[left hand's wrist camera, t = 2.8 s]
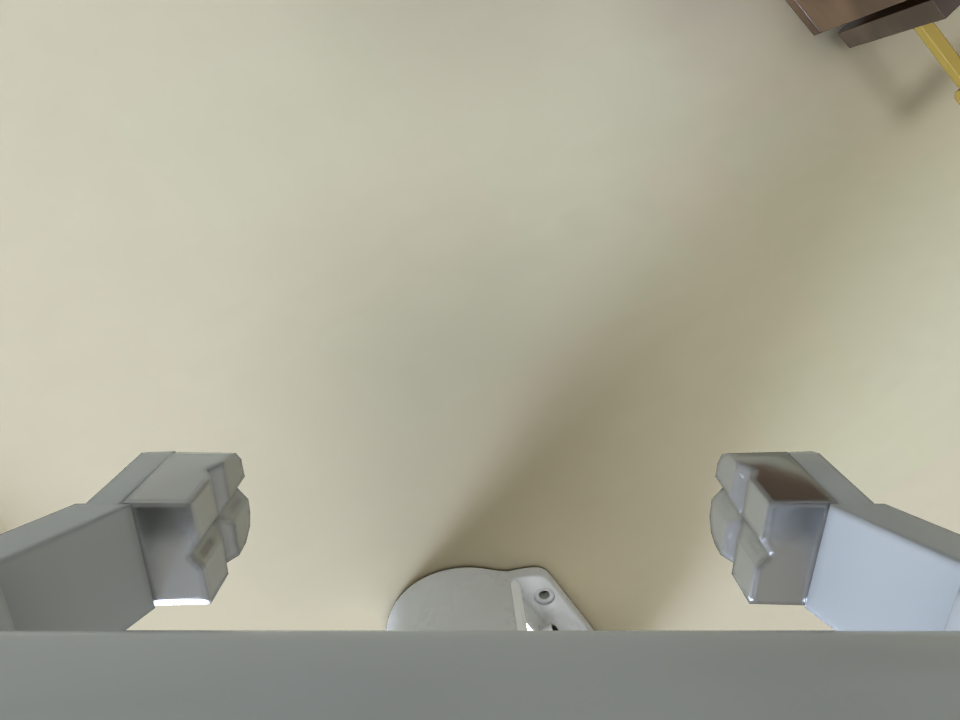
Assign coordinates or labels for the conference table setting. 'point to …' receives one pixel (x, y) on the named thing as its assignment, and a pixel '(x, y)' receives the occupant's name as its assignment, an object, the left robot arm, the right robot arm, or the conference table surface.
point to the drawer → (917, 12)
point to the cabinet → (835, 11)
